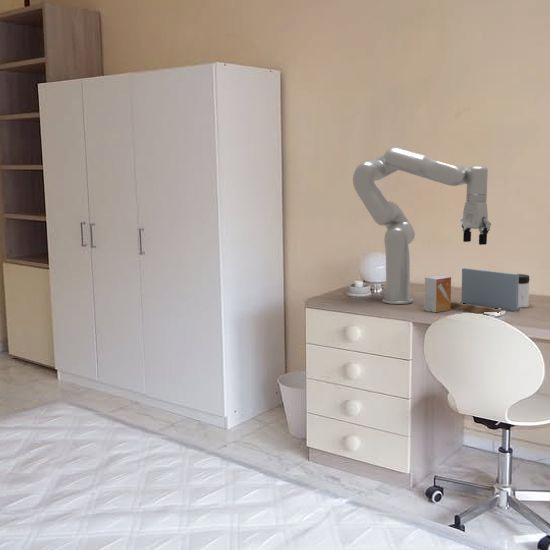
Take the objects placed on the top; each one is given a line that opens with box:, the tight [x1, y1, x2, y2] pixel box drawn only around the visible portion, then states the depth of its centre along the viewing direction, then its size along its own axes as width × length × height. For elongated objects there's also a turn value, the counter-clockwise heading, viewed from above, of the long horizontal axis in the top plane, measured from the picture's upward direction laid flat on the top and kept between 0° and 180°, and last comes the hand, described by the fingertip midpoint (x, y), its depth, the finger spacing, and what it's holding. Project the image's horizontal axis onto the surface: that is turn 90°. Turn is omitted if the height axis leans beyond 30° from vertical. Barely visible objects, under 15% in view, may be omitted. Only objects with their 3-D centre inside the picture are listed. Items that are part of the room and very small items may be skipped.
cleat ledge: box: [450, 301, 502, 314], centre depth 272 cm, size 24×2×2 cm, turn 41°
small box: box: [424, 274, 452, 313], centre depth 275 cm, size 8×6×13 cm
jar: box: [518, 273, 530, 309], centre depth 279 cm, size 9×8×12 cm
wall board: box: [460, 267, 521, 312], centre depth 279 cm, size 24×3×14 cm, turn 41°
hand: (474, 243), depth 278 cm, fingers open, 9 cm apart
